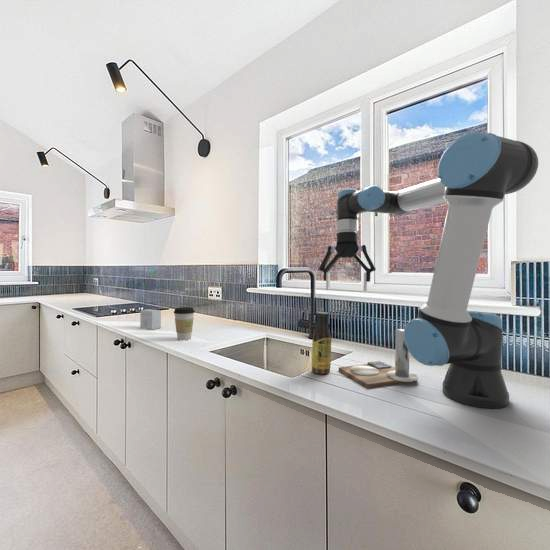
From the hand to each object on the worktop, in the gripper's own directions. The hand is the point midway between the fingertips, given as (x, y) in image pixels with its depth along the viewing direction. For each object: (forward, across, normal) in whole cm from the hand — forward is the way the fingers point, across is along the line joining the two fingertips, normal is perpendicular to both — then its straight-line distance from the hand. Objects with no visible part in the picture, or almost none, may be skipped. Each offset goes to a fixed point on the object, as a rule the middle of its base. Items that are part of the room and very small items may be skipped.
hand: (346, 290), depth 113 cm
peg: (+25, -20, +10) cm, 34 cm away
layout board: (+27, -13, +10) cm, 31 cm away
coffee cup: (+27, +79, -5) cm, 84 cm away
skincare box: (+26, +116, -18) cm, 120 cm away
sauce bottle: (+27, +5, +13) cm, 31 cm away
